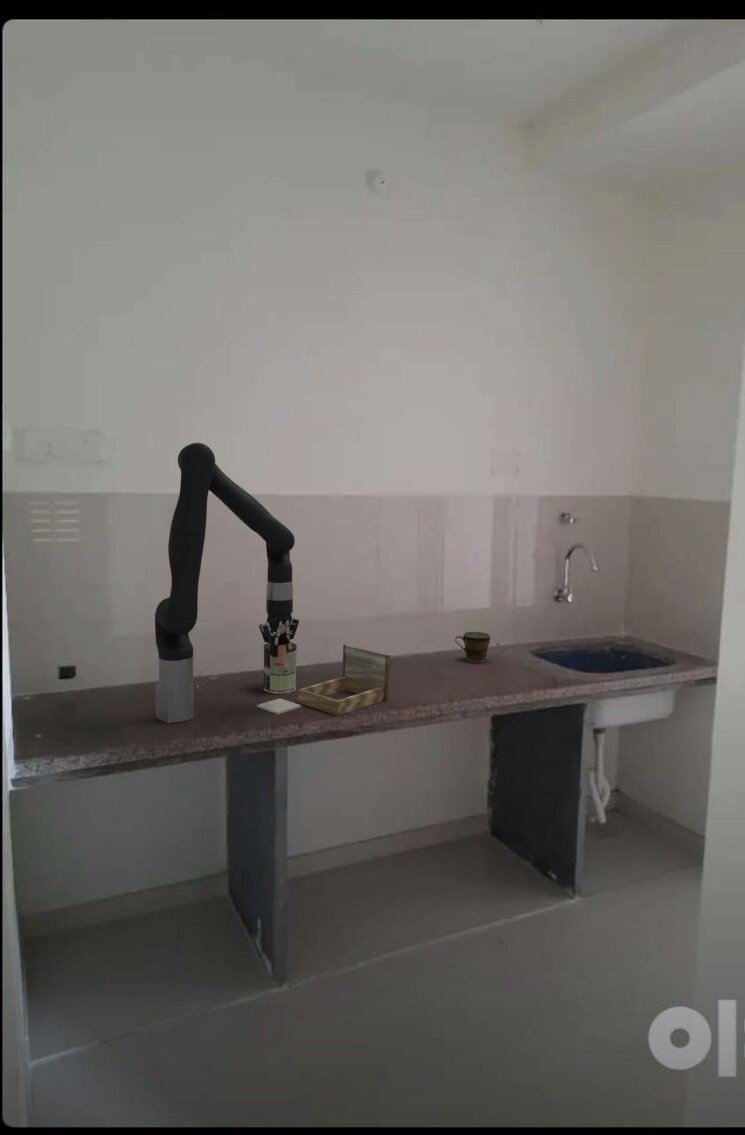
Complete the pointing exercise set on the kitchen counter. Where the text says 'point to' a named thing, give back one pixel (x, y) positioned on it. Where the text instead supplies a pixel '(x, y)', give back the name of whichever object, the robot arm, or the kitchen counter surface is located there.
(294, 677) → the coffee can
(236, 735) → the kitchen counter surface
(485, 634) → the ceramic cup
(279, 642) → the grandmother figurine
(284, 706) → the tile
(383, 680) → the cold frame
